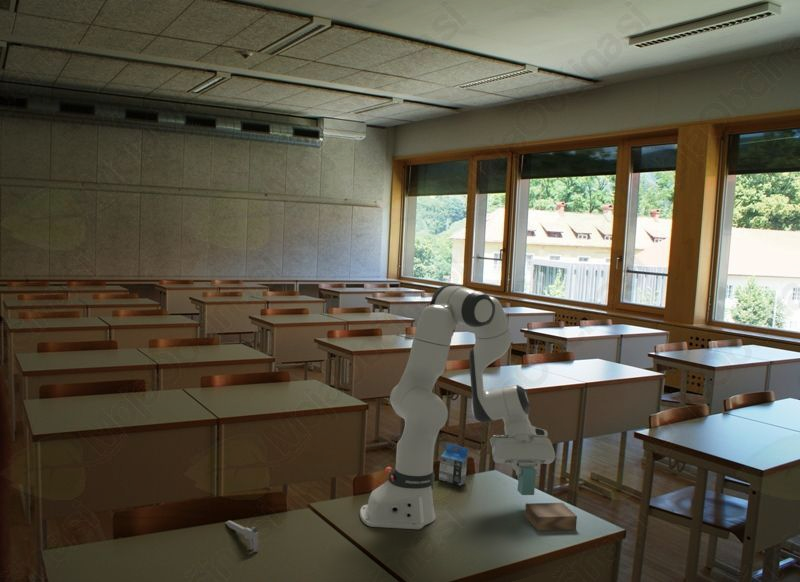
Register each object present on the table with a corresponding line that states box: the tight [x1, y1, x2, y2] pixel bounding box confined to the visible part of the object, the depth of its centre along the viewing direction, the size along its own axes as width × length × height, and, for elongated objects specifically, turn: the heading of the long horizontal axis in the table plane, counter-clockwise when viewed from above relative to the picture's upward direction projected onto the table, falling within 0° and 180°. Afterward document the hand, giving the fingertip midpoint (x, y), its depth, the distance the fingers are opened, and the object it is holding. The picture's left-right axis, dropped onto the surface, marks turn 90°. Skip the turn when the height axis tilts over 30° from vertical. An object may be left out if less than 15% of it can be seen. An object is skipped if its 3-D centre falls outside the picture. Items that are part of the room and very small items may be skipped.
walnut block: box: [524, 502, 578, 531], centre depth 203 cm, size 12×10×4 cm
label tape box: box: [438, 442, 468, 486], centre depth 233 cm, size 9×4×12 cm, turn 55°
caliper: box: [225, 520, 259, 553], centre depth 182 cm, size 20×1×6 cm, turn 35°
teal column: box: [517, 465, 537, 496], centre depth 213 cm, size 4×4×8 cm
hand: (528, 475), depth 212 cm, fingers closed on teal column, 4 cm apart
